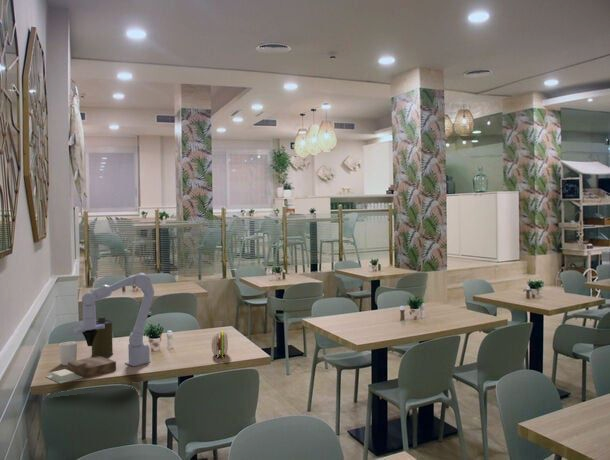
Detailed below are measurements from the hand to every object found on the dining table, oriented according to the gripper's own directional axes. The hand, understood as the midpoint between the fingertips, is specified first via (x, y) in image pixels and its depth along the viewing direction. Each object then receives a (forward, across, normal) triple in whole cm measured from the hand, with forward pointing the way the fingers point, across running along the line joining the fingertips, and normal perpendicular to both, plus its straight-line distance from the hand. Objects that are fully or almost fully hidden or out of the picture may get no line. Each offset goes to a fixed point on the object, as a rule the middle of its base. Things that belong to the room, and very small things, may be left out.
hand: (89, 345), depth 246 cm
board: (+10, +2, +5) cm, 12 cm away
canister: (+11, -15, -16) cm, 24 cm away
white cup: (+11, +3, -15) cm, 18 cm away
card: (+8, +16, +5) cm, 18 cm away
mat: (+10, +15, +5) cm, 19 cm away
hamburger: (+11, -52, +33) cm, 63 cm away
